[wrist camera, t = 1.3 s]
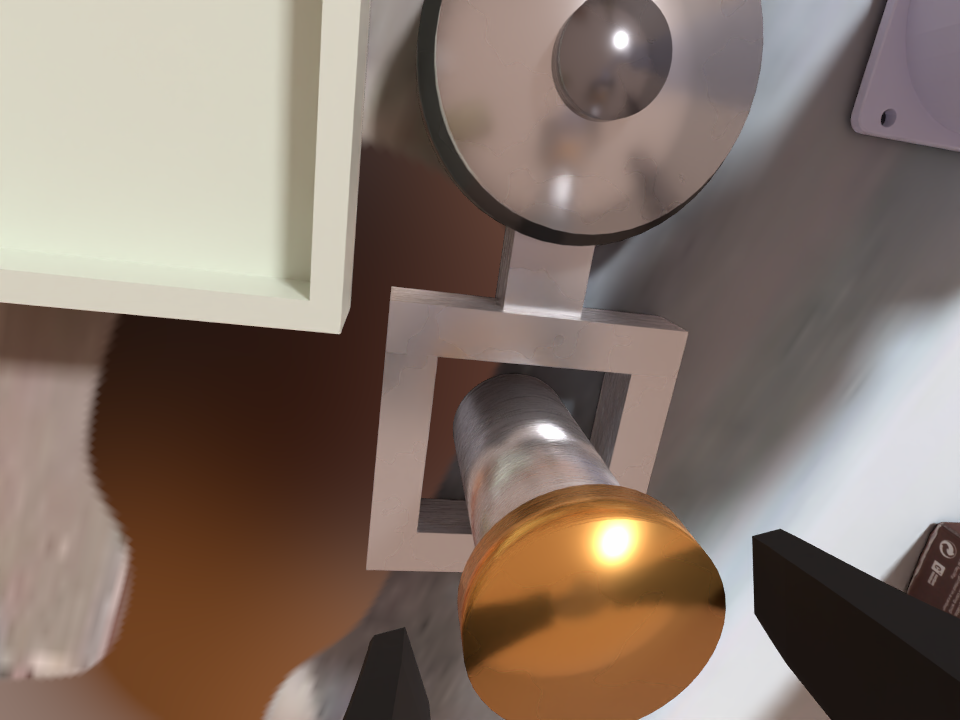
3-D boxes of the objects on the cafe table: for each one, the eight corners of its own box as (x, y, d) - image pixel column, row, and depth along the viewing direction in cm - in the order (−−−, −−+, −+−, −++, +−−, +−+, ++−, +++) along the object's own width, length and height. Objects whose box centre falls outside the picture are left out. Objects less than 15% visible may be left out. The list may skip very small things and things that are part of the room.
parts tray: (384, -200, 13) (379, -300, 10) (350, 307, 17) (339, 334, 14) (-246, -363, 11) (-465, -544, 8) (-123, 259, 15) (-245, 279, 12)
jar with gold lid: (595, 363, 19) (758, 525, 10) (567, 495, 20) (688, 731, 12) (444, 349, 18) (484, 514, 9) (427, 488, 20) (447, 738, 11)
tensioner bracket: (752, -64, 15) (859, -135, 12) (604, 540, 21) (645, 614, 18) (429, -143, 14) (439, -252, 10) (369, 532, 20) (362, 611, 16)
